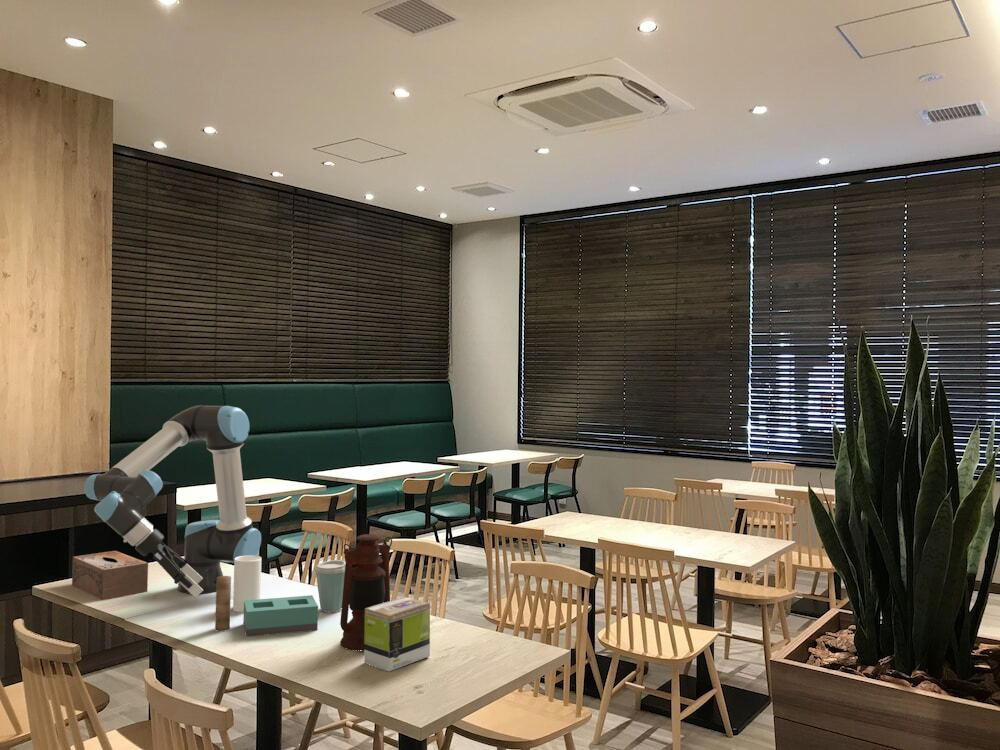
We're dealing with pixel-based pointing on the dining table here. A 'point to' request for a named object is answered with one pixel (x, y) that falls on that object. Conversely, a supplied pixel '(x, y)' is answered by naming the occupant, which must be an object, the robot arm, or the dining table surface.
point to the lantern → (363, 586)
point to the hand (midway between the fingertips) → (199, 587)
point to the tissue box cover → (110, 574)
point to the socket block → (280, 615)
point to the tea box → (397, 633)
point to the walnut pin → (223, 603)
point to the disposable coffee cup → (330, 584)
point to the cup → (246, 580)
